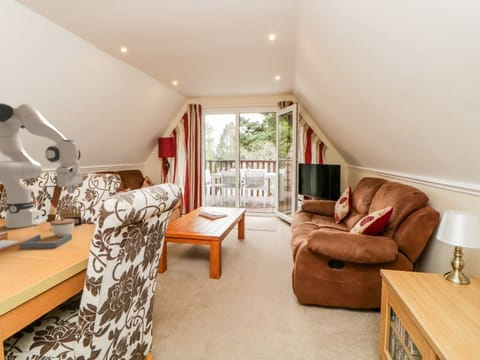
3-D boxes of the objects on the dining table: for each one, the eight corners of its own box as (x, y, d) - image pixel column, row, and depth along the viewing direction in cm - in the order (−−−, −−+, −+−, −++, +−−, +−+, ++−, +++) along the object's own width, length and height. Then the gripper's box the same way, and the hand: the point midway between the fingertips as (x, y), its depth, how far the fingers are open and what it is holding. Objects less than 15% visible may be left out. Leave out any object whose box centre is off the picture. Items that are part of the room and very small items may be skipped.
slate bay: (38, 239, 140) (38, 234, 140) (71, 238, 141) (71, 234, 141) (19, 248, 126) (19, 243, 126) (56, 247, 128) (56, 242, 128)
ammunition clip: (61, 226, 165) (60, 206, 164) (61, 226, 167) (60, 206, 166) (81, 224, 170) (80, 205, 169) (82, 224, 171) (81, 205, 170)
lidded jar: (49, 239, 141) (48, 221, 140) (53, 233, 150) (52, 216, 150) (73, 236, 145) (72, 219, 145) (76, 231, 155) (75, 215, 154)
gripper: (73, 167, 165) (74, 190, 166) (53, 169, 145) (55, 195, 146) (84, 167, 166) (85, 190, 167) (66, 169, 145) (67, 195, 147)
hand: (71, 193), depth 156 cm, fingers closed
